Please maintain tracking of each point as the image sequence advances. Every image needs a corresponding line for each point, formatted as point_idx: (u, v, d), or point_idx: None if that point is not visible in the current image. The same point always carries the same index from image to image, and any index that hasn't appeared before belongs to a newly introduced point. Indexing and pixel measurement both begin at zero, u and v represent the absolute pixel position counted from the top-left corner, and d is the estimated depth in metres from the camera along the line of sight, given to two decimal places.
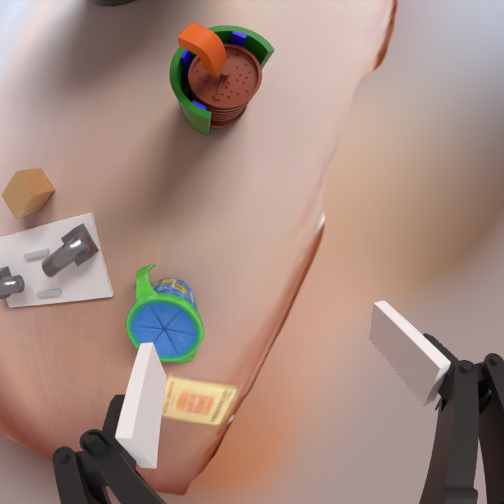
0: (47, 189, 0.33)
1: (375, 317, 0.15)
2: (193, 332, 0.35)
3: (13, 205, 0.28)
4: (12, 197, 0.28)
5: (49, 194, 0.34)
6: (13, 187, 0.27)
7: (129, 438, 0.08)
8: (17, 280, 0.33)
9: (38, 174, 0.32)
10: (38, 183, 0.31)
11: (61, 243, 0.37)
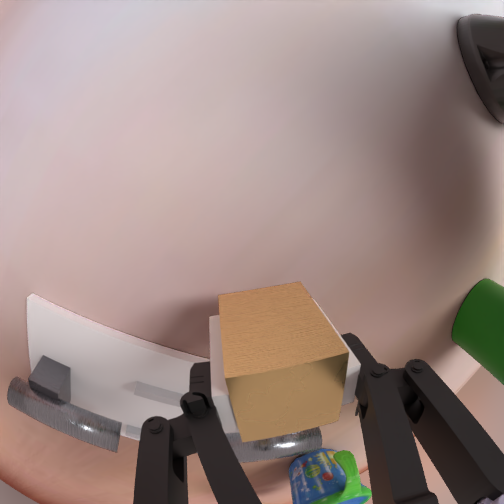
0: None
1: None
2: None
3: (257, 420, 0.11)
4: (273, 404, 0.10)
5: None
6: (300, 385, 0.10)
7: (226, 395, 0.10)
8: (119, 435, 0.17)
9: None
10: None
11: None
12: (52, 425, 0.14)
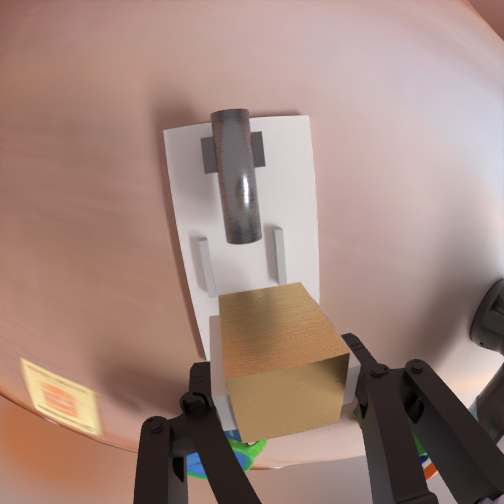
0: None
1: None
2: None
3: (258, 421, 0.11)
4: (273, 405, 0.10)
5: None
6: (301, 386, 0.10)
7: (226, 395, 0.10)
8: None
9: None
10: None
11: None
12: (238, 169, 0.20)
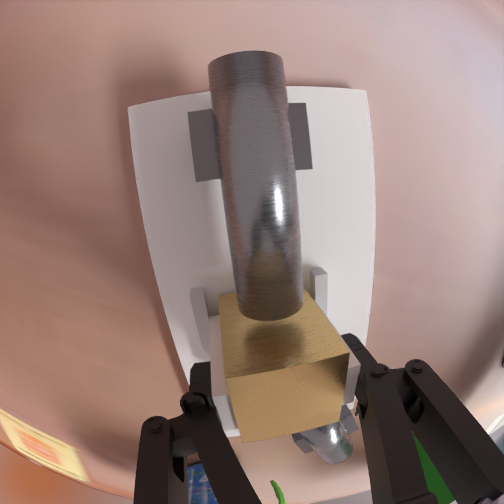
0: None
1: None
2: None
3: (257, 420, 0.11)
4: (273, 405, 0.10)
5: None
6: (301, 386, 0.10)
7: (226, 395, 0.10)
8: None
9: None
10: None
11: None
12: (266, 174, 0.09)
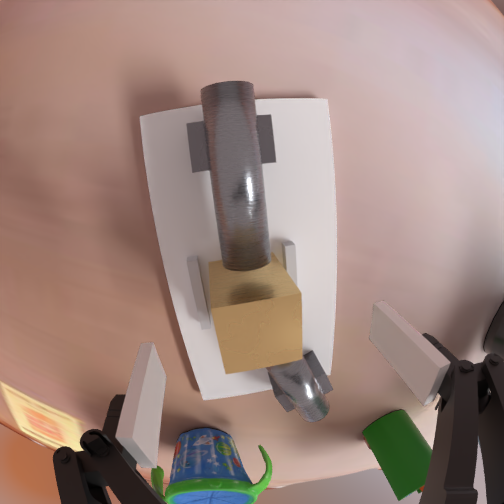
0: None
1: (375, 317, 0.15)
2: None
3: (236, 350, 0.16)
4: (247, 335, 0.15)
5: None
6: (266, 318, 0.15)
7: (129, 438, 0.08)
8: None
9: None
10: None
11: None
12: (239, 166, 0.14)
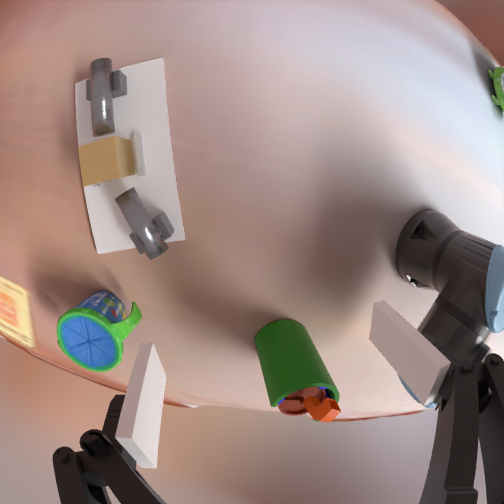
0: (130, 172, 0.32)
1: (375, 317, 0.15)
2: (94, 364, 0.33)
3: (87, 170, 0.27)
4: (91, 160, 0.27)
5: None
6: (99, 150, 0.26)
7: (129, 438, 0.08)
8: (107, 132, 0.28)
9: (128, 148, 0.32)
10: (126, 160, 0.31)
11: (151, 196, 0.36)
12: (97, 90, 0.25)
